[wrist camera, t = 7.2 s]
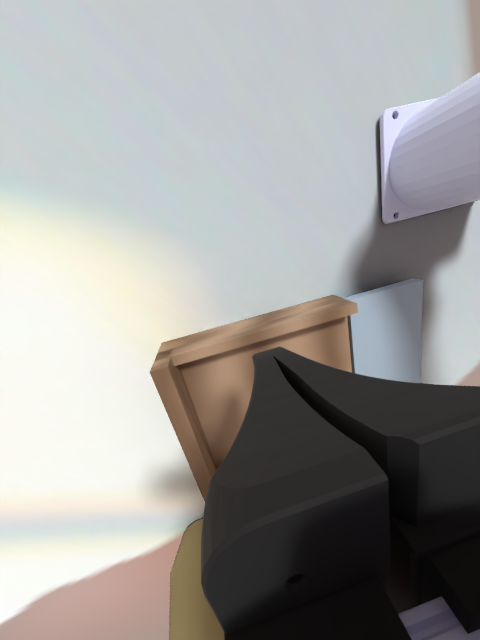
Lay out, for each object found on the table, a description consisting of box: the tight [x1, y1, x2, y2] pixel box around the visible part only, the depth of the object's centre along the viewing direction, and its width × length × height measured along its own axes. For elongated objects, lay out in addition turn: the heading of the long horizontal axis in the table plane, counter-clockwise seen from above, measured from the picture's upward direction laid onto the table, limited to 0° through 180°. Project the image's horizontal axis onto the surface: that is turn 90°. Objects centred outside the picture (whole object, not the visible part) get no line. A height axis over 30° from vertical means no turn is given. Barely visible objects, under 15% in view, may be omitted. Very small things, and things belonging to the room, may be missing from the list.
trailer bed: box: [150, 295, 358, 502], centre depth 20 cm, size 16×14×5 cm
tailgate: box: [343, 278, 423, 383], centre depth 22 cm, size 1×14×7 cm
